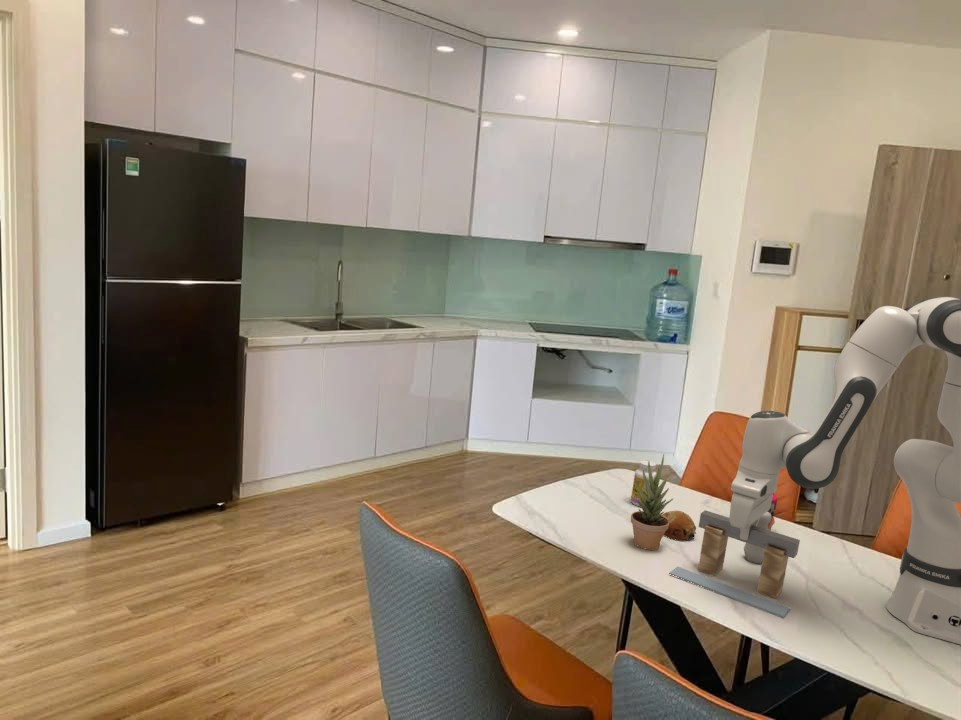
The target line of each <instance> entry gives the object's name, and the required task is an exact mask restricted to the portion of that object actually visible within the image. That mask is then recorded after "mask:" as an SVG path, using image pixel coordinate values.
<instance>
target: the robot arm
mask: <svg viewBox="0 0 961 720" xmlns="http://www.w3.org/2000/svg"><path fill="white" fill-rule="evenodd" d="M922 345H923V346H926V347H928V348H931V349H934V350H938V351H939V350H940V351H944V353H945V355H946V358H947V370H946V373H945V377H944V381H943V386H942V390H941V394H940V398H939V403H938V408H937V410H936V411H937V413H936V415H937V419H938V421H939V423H940V424H941V425H942V426H943V427H944V428H945V429H946V430H947V431H948V433H949V435H950V437H951V440H952V444H953V445H952V446H950V445H947V444H945V443H941V442H939V441H936V440H935V441H934V440H930V439H922V438H921V439H920V438H910V439H907V440H906V441H904V442H903V443H902V444H900V446H899V447H898V448H897V450H896V452H895V453H894V457H893V467H894V471H895V473H896V474H897V475H898V477H900V479H901V481H902V483H903V485H904V486H905V488H906V491H907V495H908V498H909V500H910V501H909V502H910V507H911V524H910V531H909V536H908V543H907V546H906V547H905V549H904V551H903V553H902V556H901V560H900V565H899V576H898V580H897V582H896V585H895V587H894V588H893V589H894V590H893V592H892V594H891V596H890V597H889V599H888V600H887V602H886V604H885V607H886V609H887V611H888V613H890V614H891V615H892V616H894V617H895V618H897V619H898V620H900V621H901V622H903V623H904V624H906V626H907V627H909V629H910V630H912V631H913V632H916V633H917V634H922V635H925V636H929V637H932V638H936V639H939V640H943V641H946V642H950V643H953V644H956V645H957V644H958V645H960V646H961V514H960V513H959V511H958V508H957V505H956V503H958V504H960V505H961V299H960V298H956V297H952V296H943V297H942V296H941V297H927V298H924V299H922V300H919V301H917V302H915V303H914V304H912V305H910V306H908V307H906V308H900V307H897V306H894V305H893V306H892V305H884V306H880V307H878V308H876V309H875V310H874V311H873V312H872V313H871V314H870V315H869V316H868V317H867V318H866V319H864V321H863V322H862V323H861V324H860V325H859V327H858V328H857V329H856V330H855V332H854V333H853V334H852V336H851V337H850V338H849V340H848V341H847V343H846V344H845V346H844V347H843V349H842V351H841V352H840V353H839V356H838V358H837V360H836V363H835V365H834V369H833V370H834V377H835V378H834V379H835V396H834V400H833V402H832V403H831V406H830V408H829V409H828V411H827V413H826V414H825V416H824V417H823V419H822V421H821V422H820V424H819V426H818V427H817V429H816V430H815V432H813V431H811V430H809V429H806V428H803V427H802V426H800V425H798V424H797V423H795V422H793V420H791V419H790V418H789V417H788V416H787V415H786V414H785V413H783V412H780V411H775V410H762V411H757V412H755V413H753V414H751V415H750V417H749V419H748V421H747V423H746V427H745V431H744V434H743V439H742V445H741V448H742V454H741V458H740V459H739V463H738V468H737V472H736V476H735V478H734V479H733V480H732V483H731V485H730V491H732V492H733V494H732V495H731V501H730V508H729V509H730V510H729V518H730V525H731V526H733V527H736V528H740V538H741V539H743V540H747V539H748V538H749V536H750V532H749V531H750V527H751V525H754V526H757V524H758V521H759V518H760V517H761V516H762V515H763V514H765V513H766V512H767V511H768V510H769V509H770V506H771V502H772V495H773V493H774V492H775V493H776V492H777V488H778V484H779V483H778V482H779V477H780V472H781V469H786V471H787V474H788V476H789V477H790V480H792V481H793V482H794V483H795V484H796V485H798V486H800V487H801V488H805V489H809V490H810V489H811V490H813V489H814V490H815V489H816V490H817V489H821V488H824V487H826V486H828V485H830V484H832V482H834V481H835V479H836V478H837V476H838V474H839V469H840V467H841V466H840V464H841V458H842V454H843V453H844V450H845V448H846V446H847V445H848V443H849V442H850V440H851V438H852V436H853V435H854V434H855V432H856V430H857V428H858V427H859V426H860V424H861V423H862V421H863V419H864V417H865V416H866V414H867V413H868V410H869V409H870V407H871V405H872V404H873V403H874V401H875V399H876V398H877V396H878V395H879V394H880V392H881V391H882V389H883V388H884V387H885V386H886V384H887V383H888V381H889V380H890V378H891V377H892V376H893V375H894V373H895V372H896V371H897V370H898V368H899V366H900V364H901V363H902V362H903V361H904V359H905V357H906V356H907V355H908V354H909V353H910V352H912V350H913V349H916V348H917V347H919V346H922ZM775 493H774V494H775Z"/></svg>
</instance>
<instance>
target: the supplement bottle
mask: <svg viewBox="0 0 961 720" xmlns="http://www.w3.org/2000/svg"><path fill="white" fill-rule="evenodd" d="M648 461H649V463H650V467H651V472H652V477H653V482H654V477H656V476H655V474H657V471H655V470H656V469H657V468H656V467H657V464H656V462H654V461H652V460H640V461H639V465H638V466H639V468H638V469H636V470H635V471H634V477H633V485H632V490H631V497H630V503H631V504H633V505H634V506H636V507H639V508H641V507H640V505H639V504H638V502H637V501H636V500H638V501H639V500H640V497H639V495H638V493H637V490H636V487H637V489H638V486H637V484H638V485H639V487H640V488H641V489H642V491H643V492H644V491H645V493H646V495H647V491H646V487H645V483H644V478H643V470H644V473H645V475H646V478H647V481H648V483H649V473H648ZM649 486H650V483H649ZM638 491H639V489H638ZM639 493H640V491H639ZM640 495H641V493H640ZM641 497H642V495H641ZM642 499H643V500H644V498H643V497H642ZM640 501H641V500H640ZM644 501H645V500H644Z"/></svg>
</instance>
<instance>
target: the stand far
mask: <svg viewBox="0 0 961 720" xmlns="http://www.w3.org/2000/svg"><path fill="white" fill-rule="evenodd" d="M722 534H723V531H722V530H719V529H716V528H712V527H709V526H705V529H704V531H703V536H702V544H701V550H700V555H699V562H698V568H697V571H698V570H699V571H698V572H701V571H702V572H701V573H704V574H706V573H707V574H706V575H710V576H712V577H715V576H716V575H718V574H719V573H720V572H721V571H722V570H723V569H724V563H725V558H726V551H727V546H728V540H729V537H728V536H724V535H722Z"/></svg>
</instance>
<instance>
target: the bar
mask: <svg viewBox="0 0 961 720" xmlns="http://www.w3.org/2000/svg"><path fill="white" fill-rule="evenodd" d="M705 526H709V527H712V528H716V529H719V530H722V531H723V534H722V535H724V536H728V538H730V539H734V540H738V541H739V542H743V543H745V544H746V543H749V544H752V545H755V546H758V547H761V548H764V549H765V546H766V545H768V546H771V547H774V548H777V549H780V550H783V551H785V552H784V555H785V556H788V558H792V559H795V558H796V556H798V552H799V547H800V542H801V540H800V539H797V538H794V537H791V536H789V535H785V534H782V533H778V532H775V531H772V530H771V531H770V530H766V529H763V528H760V527H757V526H754V525H751V527H750V531H749V532H750V536H749V538H748V539H747V540H743V539H741V538H740V528H736V527H733V526H731V525H730V517H728V516H725V515H722V514H719V513H715V512H712V511H708V510H707V509H706V510H703V511H701V512H700V515H699V522H698V528H701V529H704V530H705Z"/></svg>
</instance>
